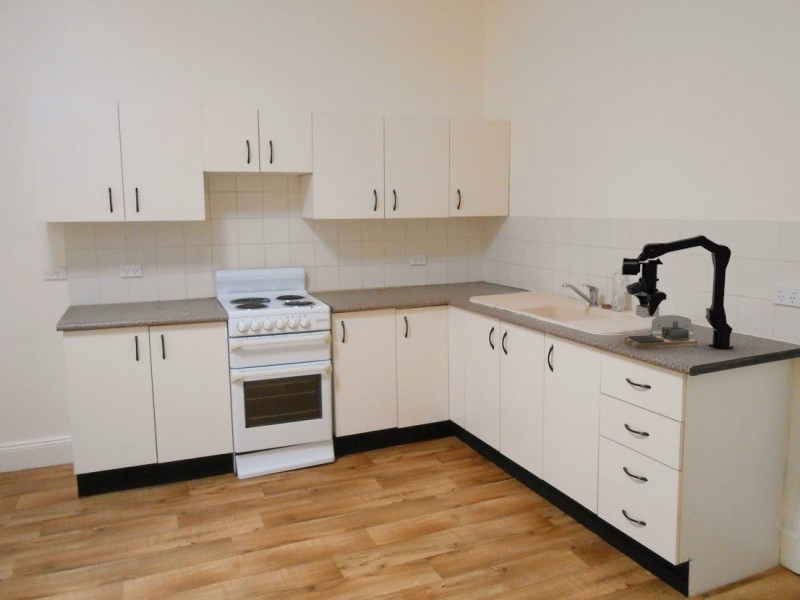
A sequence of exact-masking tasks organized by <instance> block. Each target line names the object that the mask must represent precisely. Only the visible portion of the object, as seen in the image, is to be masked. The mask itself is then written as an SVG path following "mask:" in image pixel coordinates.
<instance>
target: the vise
mask: <svg viewBox="0 0 800 600" xmlns="http://www.w3.org/2000/svg"><path fill="white" fill-rule="evenodd" d="M655 337H657V338H660V339H662V340H664V342H654V343H638V342H636V341H634V340H632V339H630V338H629V336H626V337H624V343H626V344H628V345H630V346H631V347H633V348H635V349H637V350H642V349H665V347H667V348H685V347H687V346H689V347H697V346H698V341H697V340H695V339H694V338H689V330H687V329H682V328H681V327H679V326H678V321H673V327H662V334H661V336H655Z"/></svg>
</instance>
